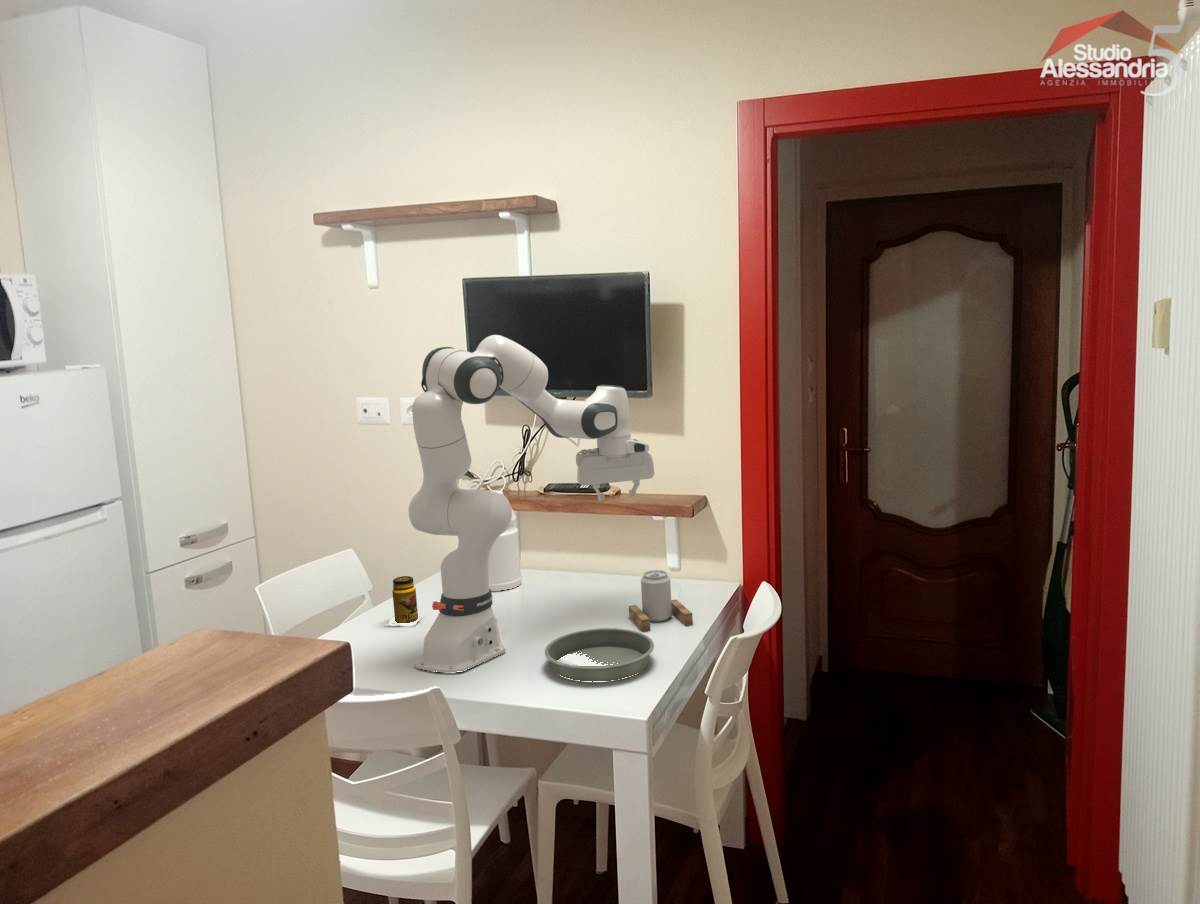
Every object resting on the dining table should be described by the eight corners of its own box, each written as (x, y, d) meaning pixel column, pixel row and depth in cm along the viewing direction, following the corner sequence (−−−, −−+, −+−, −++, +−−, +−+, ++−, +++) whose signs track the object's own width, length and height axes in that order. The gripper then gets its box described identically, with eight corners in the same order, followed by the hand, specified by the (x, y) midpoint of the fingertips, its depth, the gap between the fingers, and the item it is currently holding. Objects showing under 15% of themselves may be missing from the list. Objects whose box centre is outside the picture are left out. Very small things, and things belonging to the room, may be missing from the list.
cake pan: (571, 642, 228) (570, 624, 228) (668, 650, 219) (667, 631, 219) (527, 681, 206) (525, 661, 205) (633, 692, 197) (632, 671, 196)
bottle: (508, 575, 288) (502, 485, 284) (530, 585, 277) (524, 491, 272) (466, 585, 281) (459, 492, 276) (487, 595, 269) (480, 499, 265)
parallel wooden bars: (629, 617, 243) (628, 605, 243) (677, 610, 246) (676, 599, 246) (642, 631, 232) (642, 620, 231) (692, 624, 235) (692, 613, 234)
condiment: (415, 626, 246) (411, 581, 244) (383, 627, 247) (379, 582, 245) (423, 617, 253) (419, 573, 251) (392, 618, 254) (388, 574, 252)
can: (640, 622, 239) (637, 576, 237) (645, 613, 246) (643, 568, 244) (669, 623, 237) (667, 577, 235) (674, 613, 244) (672, 568, 242)
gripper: (578, 452, 240) (581, 505, 242) (654, 444, 245) (657, 496, 247) (572, 448, 246) (575, 500, 248) (647, 441, 251) (650, 492, 253)
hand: (617, 498), depth 248 cm, fingers open, 7 cm apart
